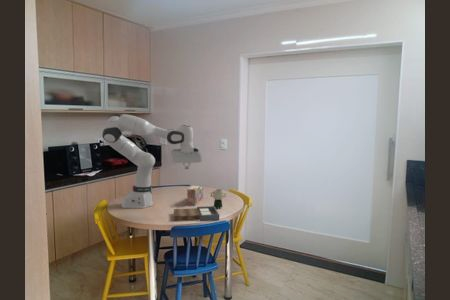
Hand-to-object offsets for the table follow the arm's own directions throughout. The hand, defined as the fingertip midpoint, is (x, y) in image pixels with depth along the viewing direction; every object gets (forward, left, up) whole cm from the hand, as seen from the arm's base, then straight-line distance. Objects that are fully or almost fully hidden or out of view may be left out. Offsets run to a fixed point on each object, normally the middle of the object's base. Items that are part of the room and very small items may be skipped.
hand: (186, 169), depth 213 cm
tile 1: (+11, -10, -29) cm, 33 cm away
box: (+13, -14, -29) cm, 35 cm away
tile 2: (+11, -18, -29) cm, 36 cm away
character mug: (+23, +3, -29) cm, 37 cm away
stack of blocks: (+9, +21, -30) cm, 37 cm away
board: (-1, -14, -29) cm, 32 cm away
